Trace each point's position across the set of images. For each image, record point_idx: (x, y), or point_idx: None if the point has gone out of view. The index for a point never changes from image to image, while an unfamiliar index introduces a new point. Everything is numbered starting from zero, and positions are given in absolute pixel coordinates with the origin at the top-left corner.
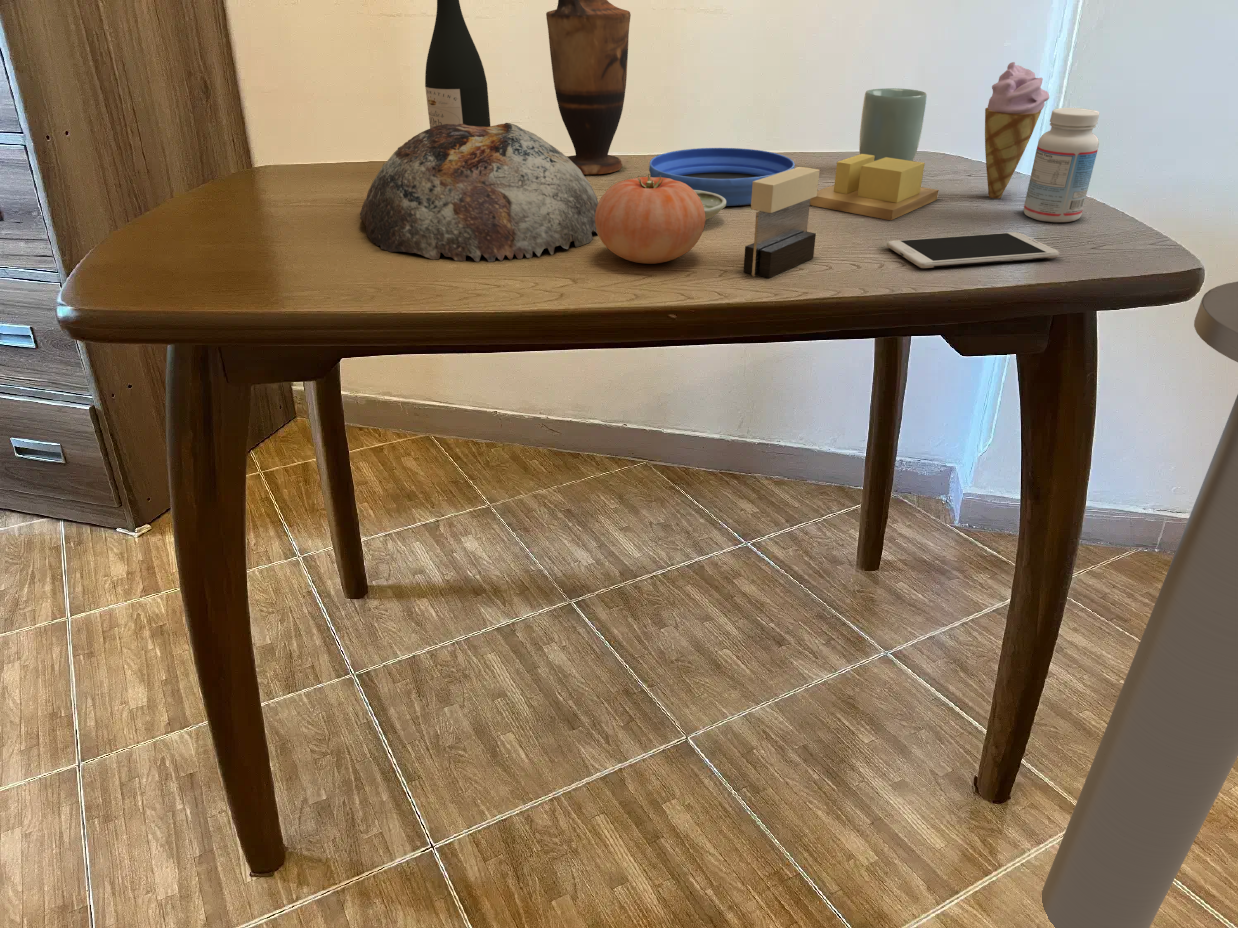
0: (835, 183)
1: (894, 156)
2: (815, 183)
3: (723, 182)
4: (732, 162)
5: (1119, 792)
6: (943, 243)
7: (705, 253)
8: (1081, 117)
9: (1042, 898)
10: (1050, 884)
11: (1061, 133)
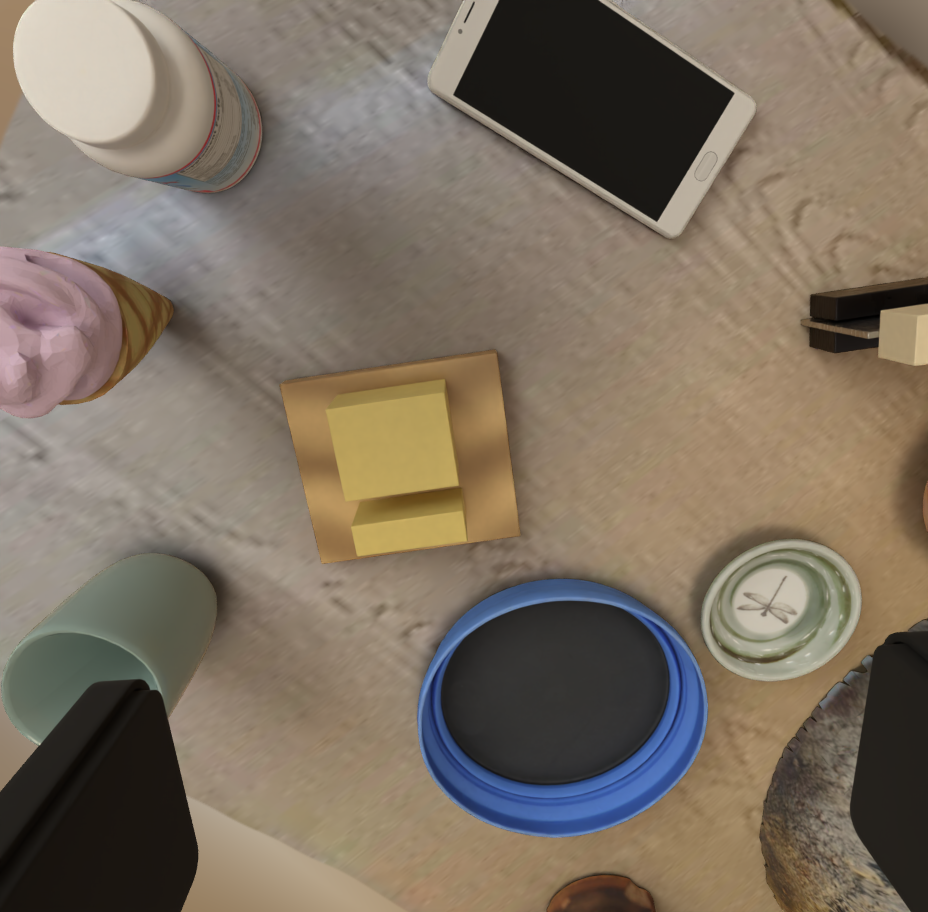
0: (466, 520)
1: (185, 573)
2: (911, 311)
3: (672, 629)
4: (449, 766)
5: None
6: (615, 148)
7: (899, 439)
8: (132, 18)
9: None
10: None
11: (171, 84)
